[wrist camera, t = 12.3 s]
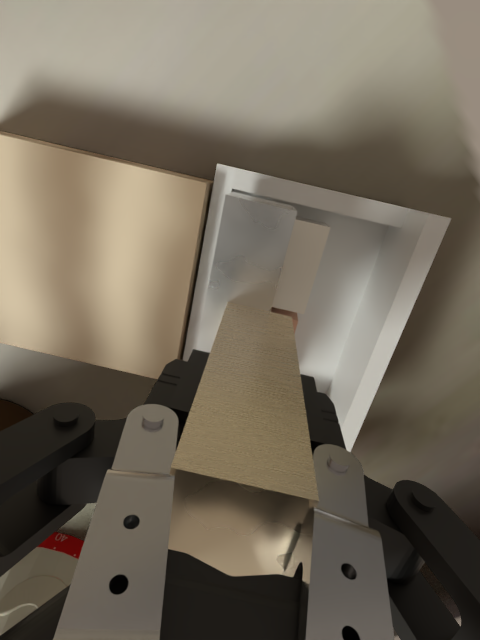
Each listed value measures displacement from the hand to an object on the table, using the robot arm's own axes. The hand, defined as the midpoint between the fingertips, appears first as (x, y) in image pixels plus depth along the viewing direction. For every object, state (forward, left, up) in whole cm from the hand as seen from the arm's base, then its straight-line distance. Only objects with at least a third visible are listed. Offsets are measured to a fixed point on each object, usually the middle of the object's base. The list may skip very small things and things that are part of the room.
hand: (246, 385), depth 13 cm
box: (+2, 0, -12) cm, 12 cm away
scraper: (-1, 0, -7) cm, 7 cm away
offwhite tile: (0, +3, -10) cm, 11 cm away
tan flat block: (-11, 0, -12) cm, 16 cm away
